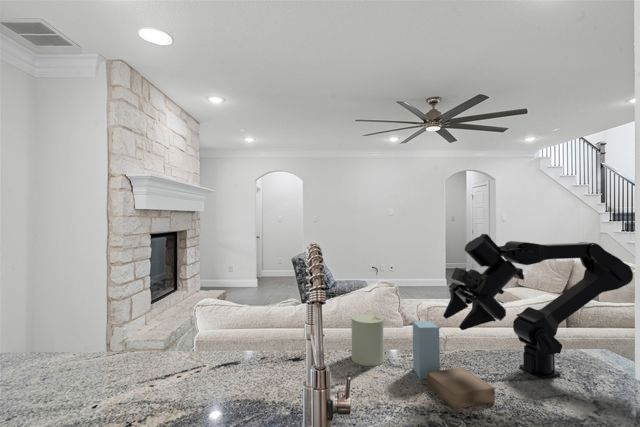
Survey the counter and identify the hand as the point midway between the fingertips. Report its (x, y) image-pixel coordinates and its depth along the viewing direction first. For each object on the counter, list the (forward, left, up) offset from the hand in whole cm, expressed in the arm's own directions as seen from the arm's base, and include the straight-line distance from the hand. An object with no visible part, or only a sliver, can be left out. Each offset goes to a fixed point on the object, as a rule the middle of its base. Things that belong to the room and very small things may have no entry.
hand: (452, 322), depth 82 cm
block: (+7, -1, -13) cm, 15 cm away
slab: (+5, +9, -13) cm, 16 cm away
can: (+18, -13, -13) cm, 26 cm away
